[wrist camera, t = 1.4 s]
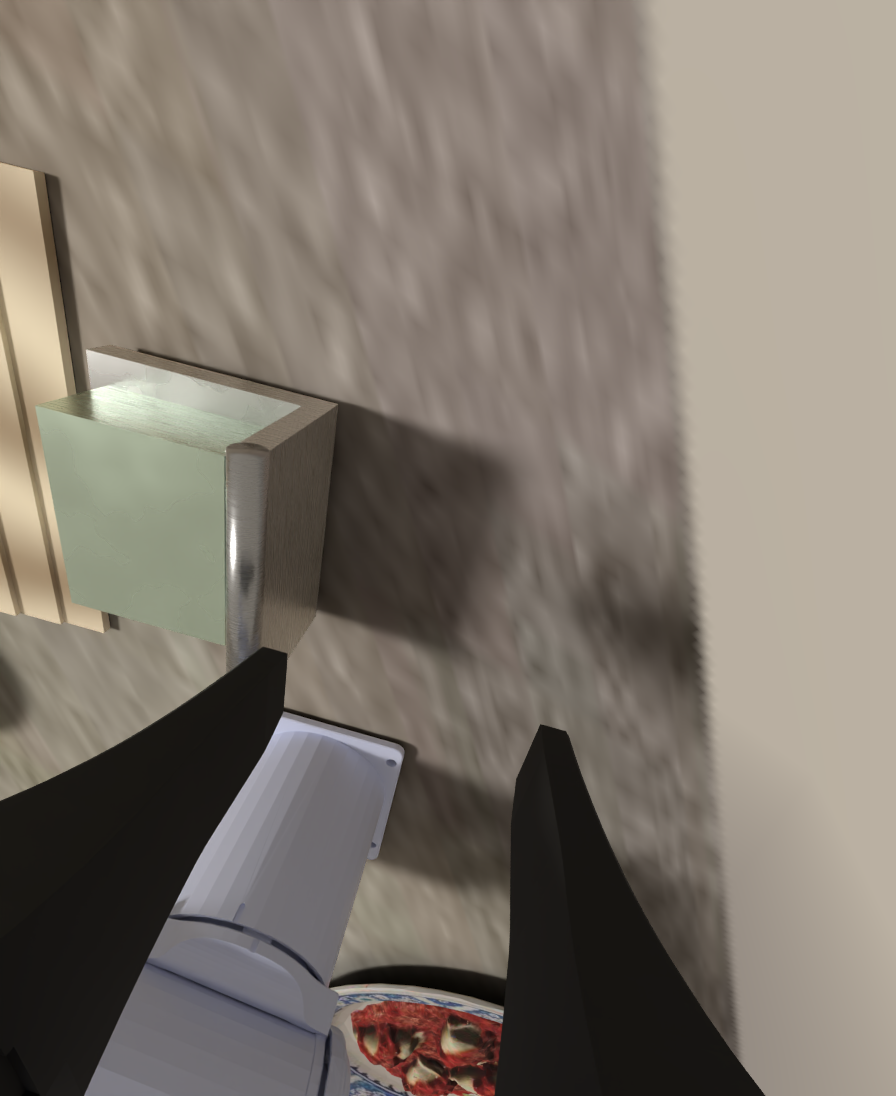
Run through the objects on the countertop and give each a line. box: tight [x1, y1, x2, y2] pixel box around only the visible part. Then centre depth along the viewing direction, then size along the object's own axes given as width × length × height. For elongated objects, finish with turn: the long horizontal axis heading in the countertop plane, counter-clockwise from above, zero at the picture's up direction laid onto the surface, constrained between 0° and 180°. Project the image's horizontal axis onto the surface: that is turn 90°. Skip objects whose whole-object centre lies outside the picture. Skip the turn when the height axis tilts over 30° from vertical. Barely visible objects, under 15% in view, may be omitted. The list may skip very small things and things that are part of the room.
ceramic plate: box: [329, 983, 504, 1096], centre depth 40 cm, size 26×26×3 cm
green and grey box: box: [35, 345, 338, 673], centre depth 17 cm, size 9×8×6 cm
